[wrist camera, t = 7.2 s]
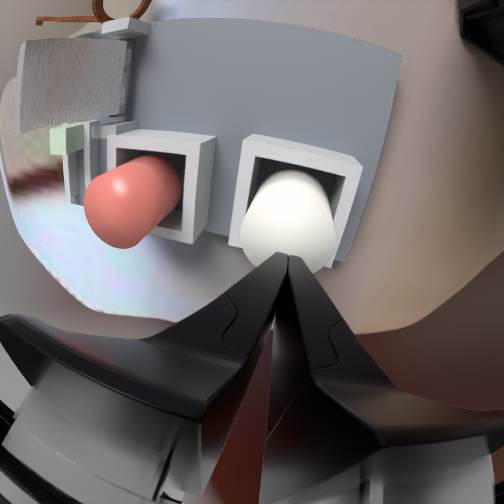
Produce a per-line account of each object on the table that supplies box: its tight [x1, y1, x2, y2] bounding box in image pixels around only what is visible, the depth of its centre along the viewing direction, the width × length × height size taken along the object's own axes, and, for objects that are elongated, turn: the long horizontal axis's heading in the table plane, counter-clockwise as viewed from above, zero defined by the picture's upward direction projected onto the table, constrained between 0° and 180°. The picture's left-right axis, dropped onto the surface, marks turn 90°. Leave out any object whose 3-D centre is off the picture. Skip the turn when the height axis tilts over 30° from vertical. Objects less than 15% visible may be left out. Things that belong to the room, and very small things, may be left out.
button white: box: [240, 169, 336, 273], centre depth 13 cm, size 4×4×4 cm
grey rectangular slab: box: [15, 38, 136, 134], centre depth 11 cm, size 1×5×8 cm, turn 170°
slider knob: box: [50, 122, 84, 155], centre depth 15 cm, size 2×2×3 cm
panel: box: [62, 17, 402, 268], centre depth 15 cm, size 22×14×5 cm, turn 81°
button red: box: [84, 155, 181, 249], centre depth 14 cm, size 4×4×4 cm
